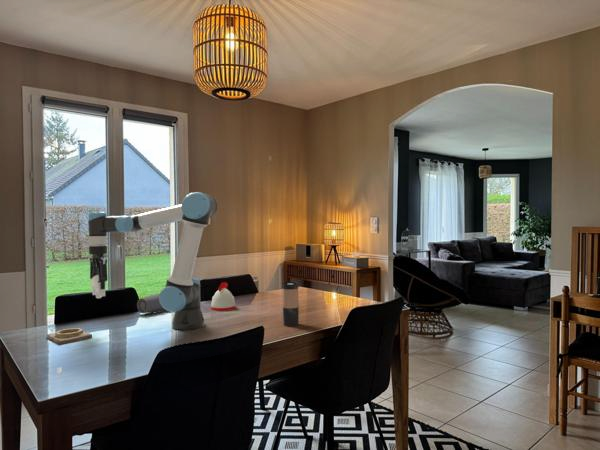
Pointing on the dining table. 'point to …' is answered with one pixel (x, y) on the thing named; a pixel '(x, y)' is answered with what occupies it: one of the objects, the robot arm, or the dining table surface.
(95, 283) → the lightbulb
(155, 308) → the bluetooth speaker
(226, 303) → the white dome
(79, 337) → the socket
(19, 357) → the dining table surface
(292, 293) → the travel mug
